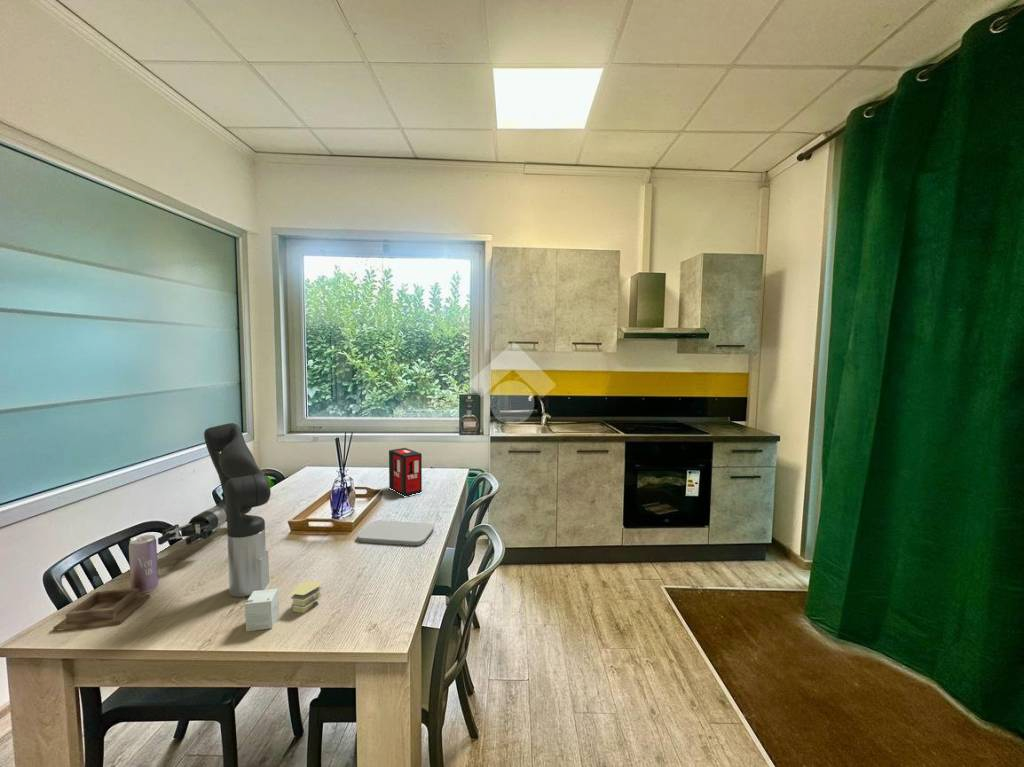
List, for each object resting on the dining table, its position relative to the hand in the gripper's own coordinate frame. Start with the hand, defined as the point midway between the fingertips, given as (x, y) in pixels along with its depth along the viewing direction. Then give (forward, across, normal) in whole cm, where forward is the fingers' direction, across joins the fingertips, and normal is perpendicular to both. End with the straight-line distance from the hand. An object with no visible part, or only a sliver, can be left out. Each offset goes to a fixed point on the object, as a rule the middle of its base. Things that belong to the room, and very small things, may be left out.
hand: (173, 541), depth 133 cm
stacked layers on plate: (+20, +50, +9) cm, 55 cm away
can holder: (+23, -1, +9) cm, 24 cm away
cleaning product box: (-77, +56, +10) cm, 95 cm away
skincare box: (+27, +42, +9) cm, 51 cm away
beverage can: (+11, 0, +9) cm, 15 cm away
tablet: (-25, +64, +10) cm, 69 cm away
